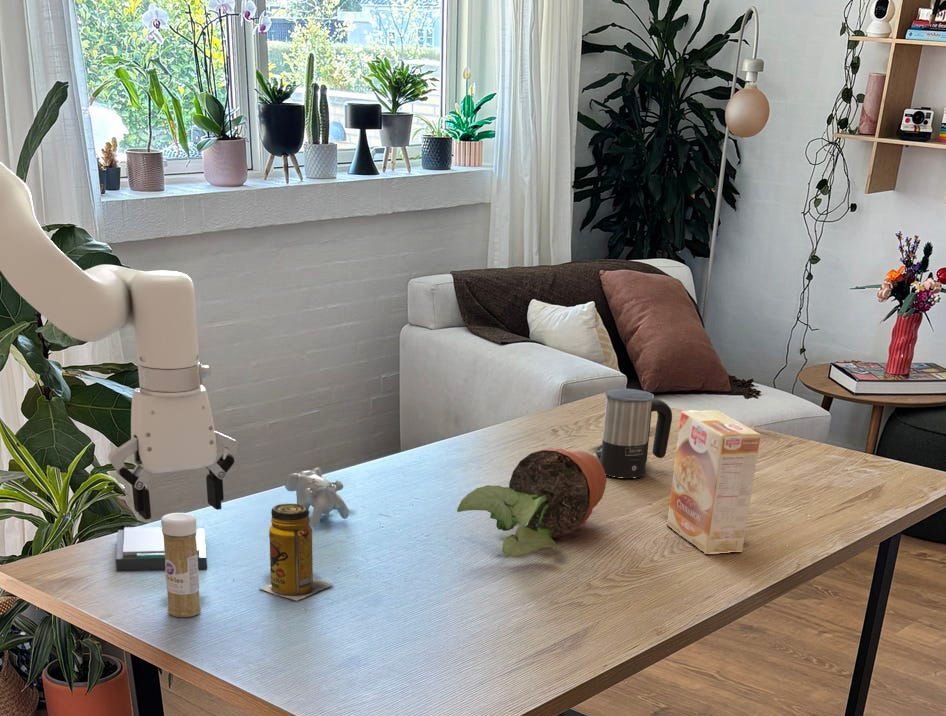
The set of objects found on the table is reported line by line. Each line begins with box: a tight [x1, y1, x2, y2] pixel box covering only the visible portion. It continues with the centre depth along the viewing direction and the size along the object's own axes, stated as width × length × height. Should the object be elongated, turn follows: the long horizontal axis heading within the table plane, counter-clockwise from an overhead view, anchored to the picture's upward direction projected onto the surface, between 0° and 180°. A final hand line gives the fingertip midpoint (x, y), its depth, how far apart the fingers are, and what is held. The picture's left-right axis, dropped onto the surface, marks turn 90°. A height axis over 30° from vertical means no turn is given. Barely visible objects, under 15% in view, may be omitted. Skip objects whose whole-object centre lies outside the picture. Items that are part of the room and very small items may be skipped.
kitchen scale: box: [115, 526, 208, 572], centre depth 196 cm, size 13×13×2 cm
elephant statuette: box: [284, 466, 350, 528], centre depth 213 cm, size 9×12×8 cm
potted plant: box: [456, 447, 607, 558], centre depth 206 cm, size 16×15×35 cm
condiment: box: [258, 503, 335, 602], centre depth 185 cm, size 7×8×12 cm
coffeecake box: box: [666, 409, 762, 553], centre depth 212 cm, size 15×7×20 cm, turn 18°
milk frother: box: [595, 388, 673, 478], centre depth 248 cm, size 14×16×15 cm
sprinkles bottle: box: [160, 512, 202, 618], centre depth 175 cm, size 5×5×13 cm
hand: (180, 511), depth 171 cm, fingers open, 9 cm apart
